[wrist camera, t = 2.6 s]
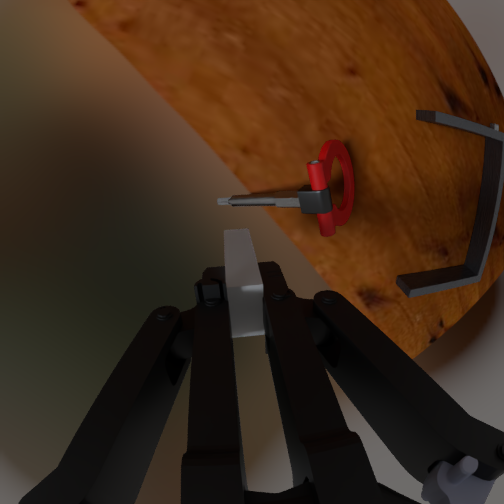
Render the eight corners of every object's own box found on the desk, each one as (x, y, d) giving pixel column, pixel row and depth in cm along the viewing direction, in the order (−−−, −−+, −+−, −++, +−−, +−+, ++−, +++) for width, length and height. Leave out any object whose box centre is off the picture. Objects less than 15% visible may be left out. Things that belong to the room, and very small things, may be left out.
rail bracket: (416, 100, 20) (435, 100, 18) (494, 124, 21) (511, 128, 18) (393, 290, 29) (406, 305, 27) (468, 275, 30) (481, 286, 28)
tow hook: (361, 205, 24) (334, 247, 19) (268, 204, 30) (226, 238, 25) (349, 132, 21) (317, 153, 16) (252, 145, 27) (202, 168, 22)
